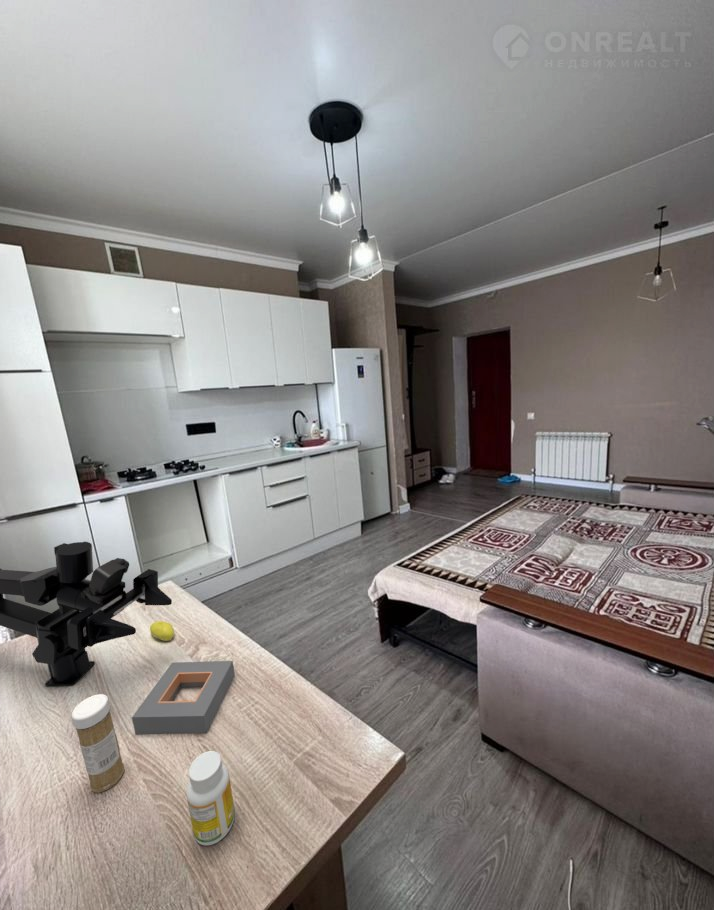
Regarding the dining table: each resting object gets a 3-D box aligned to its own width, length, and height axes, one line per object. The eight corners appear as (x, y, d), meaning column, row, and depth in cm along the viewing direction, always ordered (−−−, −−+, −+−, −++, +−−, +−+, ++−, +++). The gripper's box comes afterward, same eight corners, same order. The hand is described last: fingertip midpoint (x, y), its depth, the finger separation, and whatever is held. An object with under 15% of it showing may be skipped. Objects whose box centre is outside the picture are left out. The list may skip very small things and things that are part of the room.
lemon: (162, 647, 88) (159, 633, 87) (147, 636, 93) (144, 622, 92) (179, 637, 91) (177, 623, 90) (164, 626, 96) (161, 613, 95)
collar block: (135, 734, 65) (131, 717, 65) (174, 677, 78) (172, 662, 77) (206, 733, 64) (203, 715, 64) (234, 675, 77) (232, 660, 77)
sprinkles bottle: (122, 758, 61) (106, 687, 59) (126, 779, 58) (109, 705, 55) (88, 777, 58) (70, 704, 56) (91, 801, 55) (71, 724, 52)
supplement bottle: (206, 857, 47) (194, 796, 45) (186, 828, 50) (174, 769, 49) (243, 818, 51) (233, 760, 49) (222, 793, 54) (213, 738, 53)
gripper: (36, 585, 64) (110, 607, 61) (125, 541, 82) (187, 556, 79) (41, 640, 67) (113, 664, 64) (127, 585, 85) (186, 602, 81)
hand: (154, 615), depth 72 cm, fingers open, 9 cm apart
